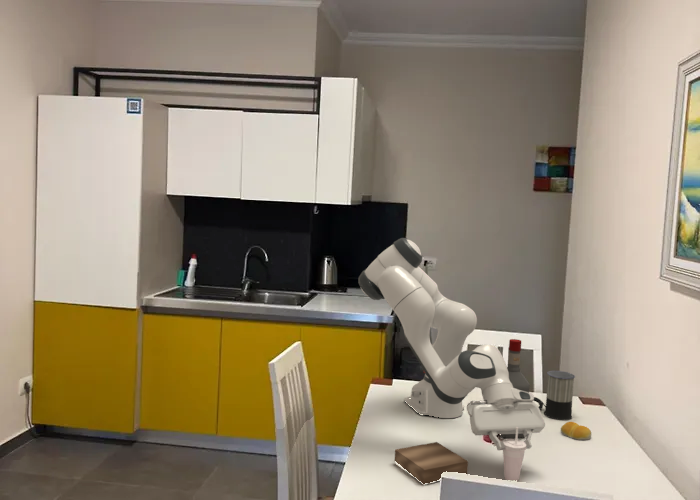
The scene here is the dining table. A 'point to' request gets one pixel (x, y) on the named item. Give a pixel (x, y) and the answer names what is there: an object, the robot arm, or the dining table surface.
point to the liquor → (516, 375)
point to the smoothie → (513, 457)
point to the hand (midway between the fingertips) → (514, 448)
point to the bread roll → (576, 431)
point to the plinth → (430, 461)
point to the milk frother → (558, 395)
